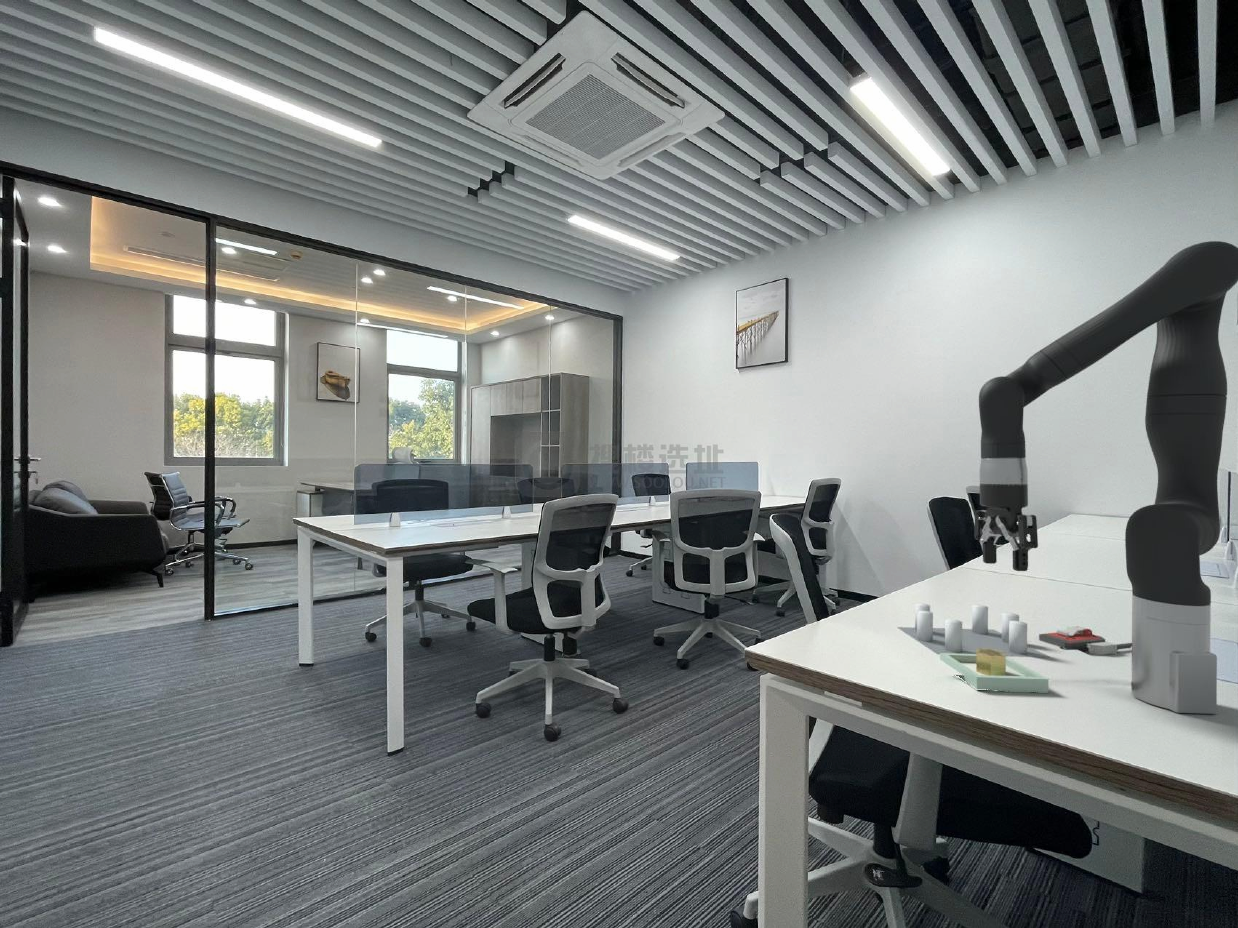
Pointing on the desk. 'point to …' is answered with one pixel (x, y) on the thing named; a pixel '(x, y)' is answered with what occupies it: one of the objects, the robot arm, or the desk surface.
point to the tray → (1000, 683)
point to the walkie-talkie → (1082, 641)
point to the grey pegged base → (971, 634)
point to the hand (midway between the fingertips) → (1004, 566)
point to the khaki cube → (991, 662)
